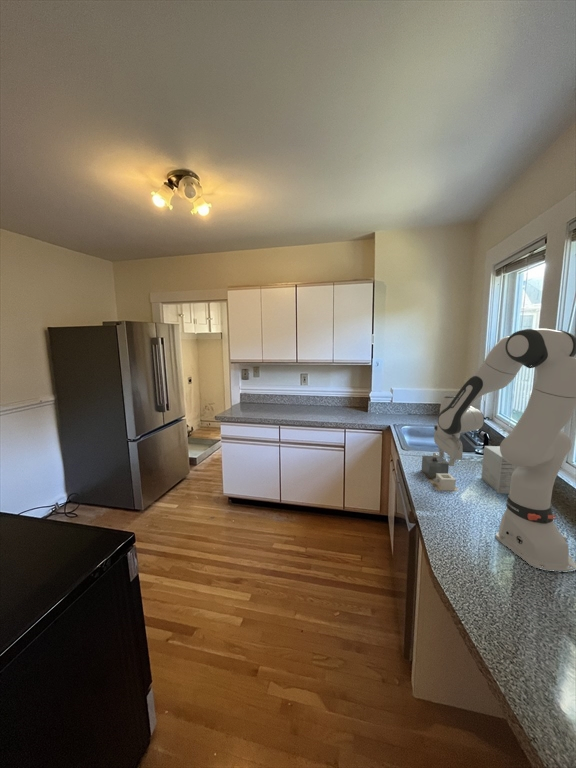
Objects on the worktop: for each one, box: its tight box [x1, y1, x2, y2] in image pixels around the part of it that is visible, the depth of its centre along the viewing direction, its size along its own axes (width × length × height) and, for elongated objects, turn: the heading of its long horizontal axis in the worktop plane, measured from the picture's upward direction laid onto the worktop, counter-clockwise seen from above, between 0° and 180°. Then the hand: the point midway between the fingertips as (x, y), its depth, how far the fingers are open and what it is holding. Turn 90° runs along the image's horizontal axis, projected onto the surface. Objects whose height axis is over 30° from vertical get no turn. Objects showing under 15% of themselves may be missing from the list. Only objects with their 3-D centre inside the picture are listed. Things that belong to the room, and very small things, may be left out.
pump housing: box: [433, 473, 457, 490], centre depth 141 cm, size 6×8×5 cm
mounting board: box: [420, 470, 460, 492], centre depth 148 cm, size 21×10×2 cm, turn 177°
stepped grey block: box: [420, 452, 450, 480], centre depth 152 cm, size 9×9×11 cm
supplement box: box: [481, 445, 518, 495], centre depth 142 cm, size 13×13×18 cm
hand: (446, 460), depth 140 cm, fingers open, 8 cm apart
